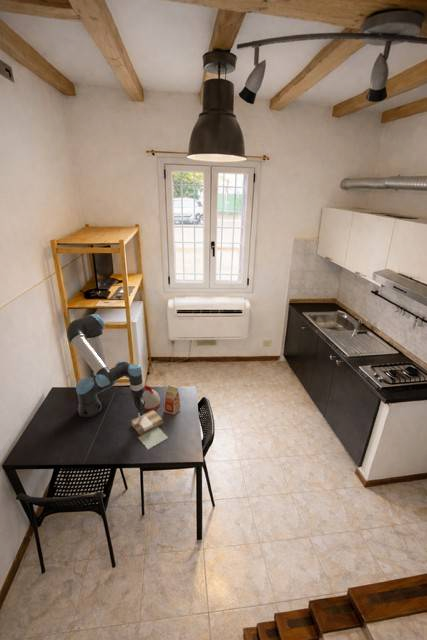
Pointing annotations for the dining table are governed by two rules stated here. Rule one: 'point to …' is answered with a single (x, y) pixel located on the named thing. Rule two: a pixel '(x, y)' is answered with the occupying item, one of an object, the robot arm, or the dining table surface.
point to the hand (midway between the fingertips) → (141, 418)
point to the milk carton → (172, 400)
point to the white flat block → (145, 423)
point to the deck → (152, 417)
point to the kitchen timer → (151, 399)
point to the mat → (153, 438)
